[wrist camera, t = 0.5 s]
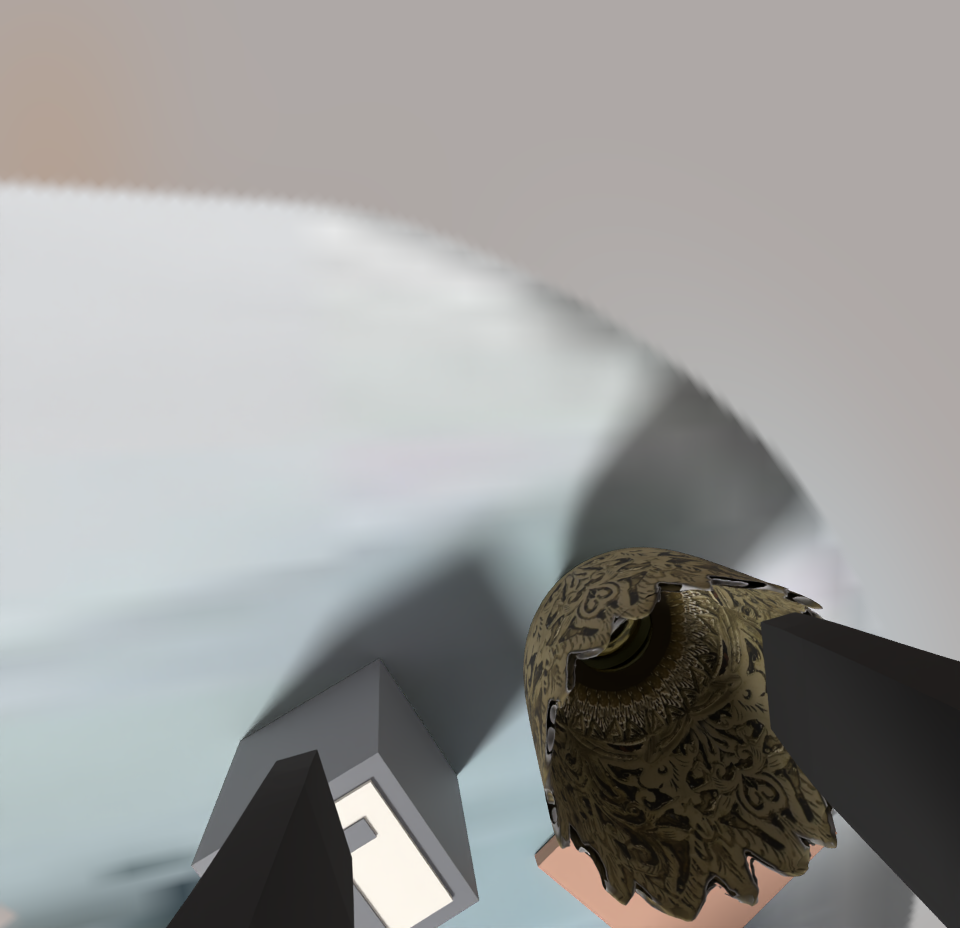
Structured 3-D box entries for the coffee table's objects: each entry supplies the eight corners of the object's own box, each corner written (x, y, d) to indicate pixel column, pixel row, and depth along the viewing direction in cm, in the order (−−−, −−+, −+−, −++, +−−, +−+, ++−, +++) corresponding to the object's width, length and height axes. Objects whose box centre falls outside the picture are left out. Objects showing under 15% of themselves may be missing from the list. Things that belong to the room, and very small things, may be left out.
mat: (677, 973, 23) (683, 987, 22) (534, 855, 21) (537, 866, 21) (827, 823, 23) (837, 833, 22) (697, 692, 21) (704, 700, 21)
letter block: (325, 854, 20) (306, 1015, 15) (240, 739, 19) (189, 871, 14) (456, 774, 20) (480, 906, 15) (379, 656, 19) (378, 756, 14)
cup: (738, 617, 21) (946, 762, 13) (574, 756, 21) (688, 986, 13) (614, 453, 20) (767, 509, 12) (436, 602, 19) (471, 760, 12)
